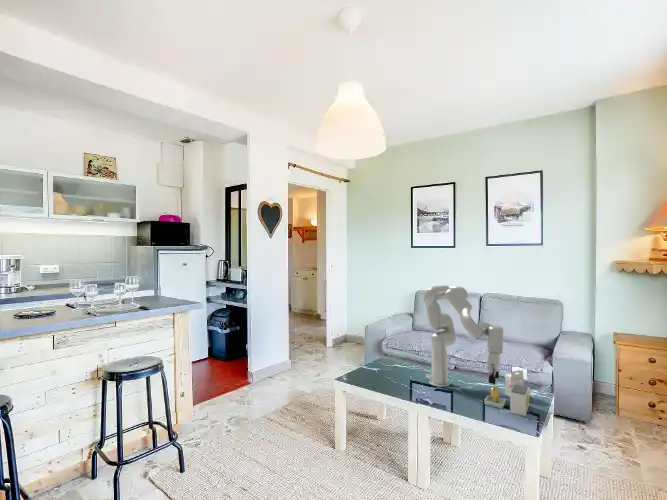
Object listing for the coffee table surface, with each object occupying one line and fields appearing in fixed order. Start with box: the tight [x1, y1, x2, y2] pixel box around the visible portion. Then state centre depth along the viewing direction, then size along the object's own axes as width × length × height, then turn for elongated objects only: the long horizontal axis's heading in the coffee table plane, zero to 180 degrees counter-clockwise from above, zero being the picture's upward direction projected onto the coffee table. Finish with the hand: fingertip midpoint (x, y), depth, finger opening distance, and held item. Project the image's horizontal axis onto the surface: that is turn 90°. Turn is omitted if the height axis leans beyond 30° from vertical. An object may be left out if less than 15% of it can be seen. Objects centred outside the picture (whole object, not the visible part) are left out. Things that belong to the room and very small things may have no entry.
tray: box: [483, 394, 507, 410], centre depth 197 cm, size 9×9×2 cm
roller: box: [490, 386, 500, 404], centre depth 197 cm, size 4×4×8 cm
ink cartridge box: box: [504, 370, 524, 397], centre depth 208 cm, size 9×5×15 cm, turn 105°
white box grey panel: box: [509, 384, 530, 417], centre depth 190 cm, size 7×14×11 cm, turn 146°
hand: (493, 380), depth 197 cm, fingers open, 9 cm apart
